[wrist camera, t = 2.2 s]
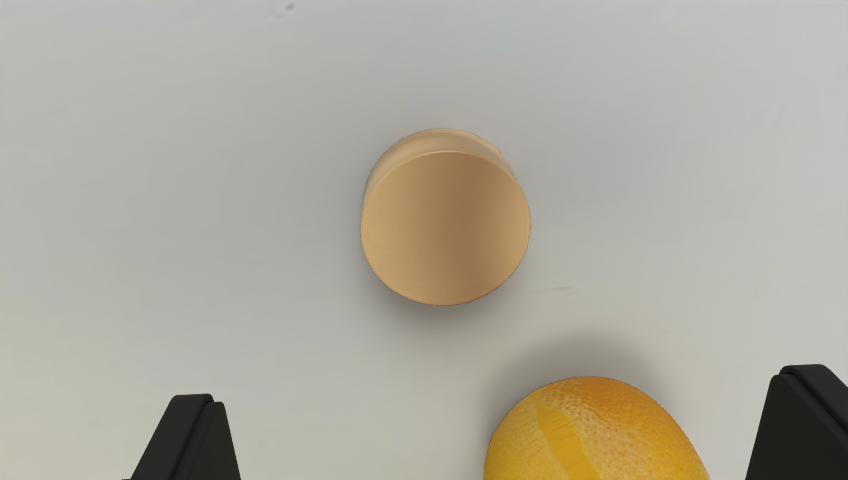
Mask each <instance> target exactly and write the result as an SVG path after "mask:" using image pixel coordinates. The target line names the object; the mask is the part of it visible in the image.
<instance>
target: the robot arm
mask: <svg viewBox="0 0 848 480" xmlns="http://www.w3.org/2000/svg"><path fill="white" fill-rule="evenodd" d="M122 480H241V478H240V473H239V469H238V464H237V460H236V455H235V451H234V446H233V442H232V437H231V433H230V428H229V424H228V419H227V415H226V410H225V407H224V404H223V403H222V402H214V400H213V397H212V396H211V394H190V395H176V396H174V397H173V398H172V400H171V401H170V403H169V405H168V407H167V409H166V411H165V413H164V415H163V417H162V418H161V420H160V422H159V424H158V426H157V428H156V430H155V432H154V434H153V436H152V438H151V440H150V442H149V444H148V446H147V448H146V450H145V452H144V454H143V456H142V457H141V459H140V461H139V463H138V465H137V467H136V469H135V471H134V473H133V475H132V477H131V479H122ZM745 480H848V387H847V386H846V385H845V384H844V383H843V382H842V381H841V380H840V379H839V378H838V377H837V376H836V375H835V374H834V373H833V372H832V371H831V370H830V369H828V368H827V367H826V366H824V365H821V364H811V365H790V366H785V367H783V368H782V369H781V370H780V373H779V375H774V376H773V377H772V379H771V381H770V384H769V388H768V392H767V396H766V400H765V404H764V408H763V412H762V416H761V420H760V424H759V428H758V432H757V436H756V439H755V443H754V447H753V451H752V455H751V459H750V463H749V467H748V471H747V475H746V479H745Z"/></svg>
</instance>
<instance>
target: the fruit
mask: <svg viewBox="0 0 848 480" xmlns="http://www.w3.org/2000/svg"><path fill="white" fill-rule="evenodd" d="M484 480H710V478H709V475H708V473H707V471H706V469H705V467H704V465H703V463H702V461H701V459H700V457H699V456H698V454H697V452H696V451H695V449H694V447H693V445H692V444H691V442H690V441H689V439H688V438H687V436H686V435H685V433H684V432H683V431H682V429H681V428H680V427H679V425H678V424H677V423H676V422H675V420H674V419H673V418H672V417H671V416H670V415H669V414H668V413H667V412H666V411H665V410H664V409H663V408H662V407H661V406H660V405H659V404H658V403H657V402H655V401H654V400H653V399H652V398H650V397H649V396H648V395H646V394H645V393H643V392H641V391H640V390H638V389H636V388H635V387H633V386H631V385H628V384H626V383H624V382H621V381H617V380H614V379H609V378H603V377H574V378H568V379H564V380H561V381H558V382H554V383H551V384H549V385H547V386H544V387H542V388H539V389H537V390H536V391H534V392H532V393H531V394H530V395H528V396H527V397H525V398H524V399H523V400H521V401H520V402H519V403H518V404H517V405H515V406H514V407H513V408H512V409H511V410H510V412H509V413H508V414H507V415H506V417H505V418H504V419H503V420H502V422H501V423H500V424H499V426H498V428H497V429H496V431H495V433H494V435H493V436H492V439H491V441H490V444H489V447H488V450H487V454H486V458H485V465H484Z"/></svg>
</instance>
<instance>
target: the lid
mask: <svg viewBox="0 0 848 480" xmlns="http://www.w3.org/2000/svg"><path fill="white" fill-rule="evenodd" d="M530 230H531V219H530V212H529V207H528V204H527V201H526V198H525V196H524V194H523V192H522V190H521V188H520V186H519V184H518V182H517V180H516V178H515V176H514V175H513V173H512V171H511V169H510V167H509V165H508V163H507V162H506V160H505V159H504V158H503V156H502V155H501V154H500V153H499V152H498V151H497V150H496V149H495V148H494V147H493V146H491V145H490V144H489V143H488V142H486V141H484V140H483V139H481V138H479V137H477V136H475V135H472V134H470V133H466V132H463V131H459V130H452V129H434V130H427V131H423V132H419V133H416V134H413V135H411V136H408V137H406V138H404V139H402V140H401V141H399V142H397V143H396V144H395V145H393V146H392V147H390V148H389V149H388V150H387V151H386V152H385V153H384V154H383V155H382V156H381V158H380V159H379V160H378V161H377V163H376V164H375V166H374V167H373V169H372V171H371V173H370V175H369V178H368V180H367V183H366V187H365V192H364V200H363V208H362V216H361V224H360V237H361V243H362V248H363V251H364V254H365V257H366V259H367V261H368V263H369V265H370V267H371V268H372V270H373V271H374V273H375V274H376V275H377V276H378V278H379V279H380V280H381V281H382V282H383V283H384V284H385V285H387V286H388V287H389V288H390V289H392V290H393V291H395V292H396V293H398V294H399V295H401V296H403V297H405V298H408V299H410V300H413V301H416V302H419V303H424V304H429V305H456V304H462V303H466V302H470V301H473V300H476V299H478V298H480V297H483V296H485V295H487V294H489V293H490V292H492V291H493V290H495V289H496V288H498V287H499V286H500V285H501V284H503V283H504V282H505V281H506V280H507V279H508V278H509V277H510V276H511V275H512V274H513V272H514V271H515V270H516V268H517V267H518V265H519V264H520V262H521V260H522V258H523V256H524V254H525V252H526V249H527V246H528V242H529V238H530Z"/></svg>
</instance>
